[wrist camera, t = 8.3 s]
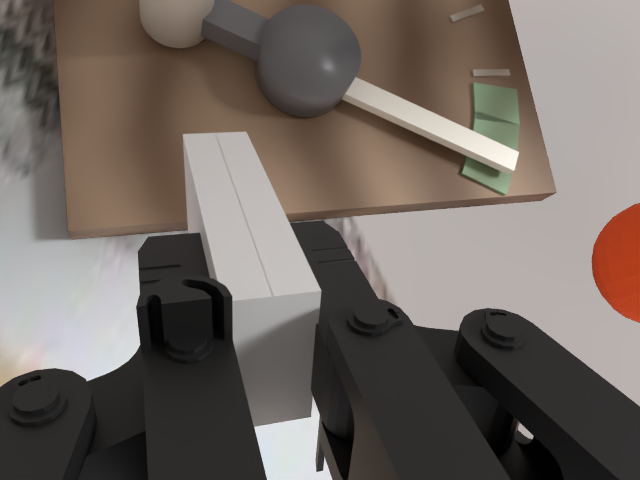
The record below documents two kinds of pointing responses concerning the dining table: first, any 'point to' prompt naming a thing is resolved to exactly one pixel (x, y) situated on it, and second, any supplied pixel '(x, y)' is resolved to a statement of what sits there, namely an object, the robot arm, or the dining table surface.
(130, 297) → the dining table surface
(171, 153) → the brown wooden board
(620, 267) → the clementine
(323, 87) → the knobbed stick and post
